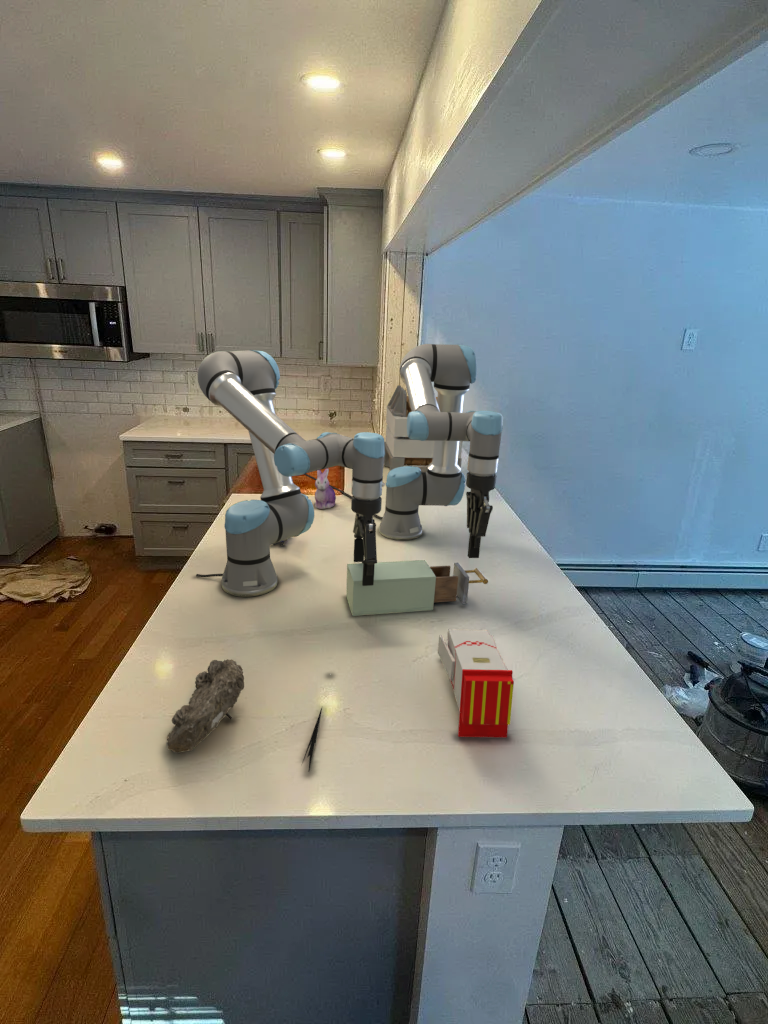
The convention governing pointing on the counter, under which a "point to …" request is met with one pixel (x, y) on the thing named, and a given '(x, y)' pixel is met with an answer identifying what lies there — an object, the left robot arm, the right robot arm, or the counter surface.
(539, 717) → the counter surface
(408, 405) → the transformer
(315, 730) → the feather
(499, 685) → the toy
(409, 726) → the counter surface
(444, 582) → the drawer
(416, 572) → the cabinet
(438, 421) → the right robot arm
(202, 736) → the fossil
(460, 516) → the counter surface
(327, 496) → the figurine
